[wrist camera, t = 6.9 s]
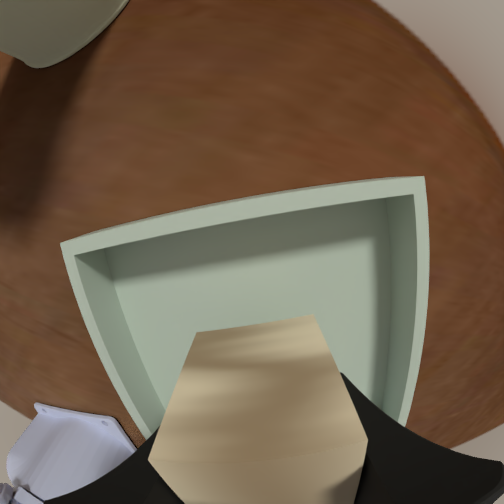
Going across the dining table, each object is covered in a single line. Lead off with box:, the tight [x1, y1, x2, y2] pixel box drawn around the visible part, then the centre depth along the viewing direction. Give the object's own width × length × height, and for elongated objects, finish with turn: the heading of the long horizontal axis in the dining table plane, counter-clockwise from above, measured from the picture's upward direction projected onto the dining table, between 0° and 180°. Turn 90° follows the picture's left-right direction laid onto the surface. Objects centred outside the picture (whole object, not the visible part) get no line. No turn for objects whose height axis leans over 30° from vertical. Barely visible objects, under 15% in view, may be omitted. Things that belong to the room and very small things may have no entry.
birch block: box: [148, 314, 368, 504], centre depth 7 cm, size 4×4×6 cm
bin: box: [60, 176, 429, 440], centre depth 12 cm, size 14×14×3 cm
